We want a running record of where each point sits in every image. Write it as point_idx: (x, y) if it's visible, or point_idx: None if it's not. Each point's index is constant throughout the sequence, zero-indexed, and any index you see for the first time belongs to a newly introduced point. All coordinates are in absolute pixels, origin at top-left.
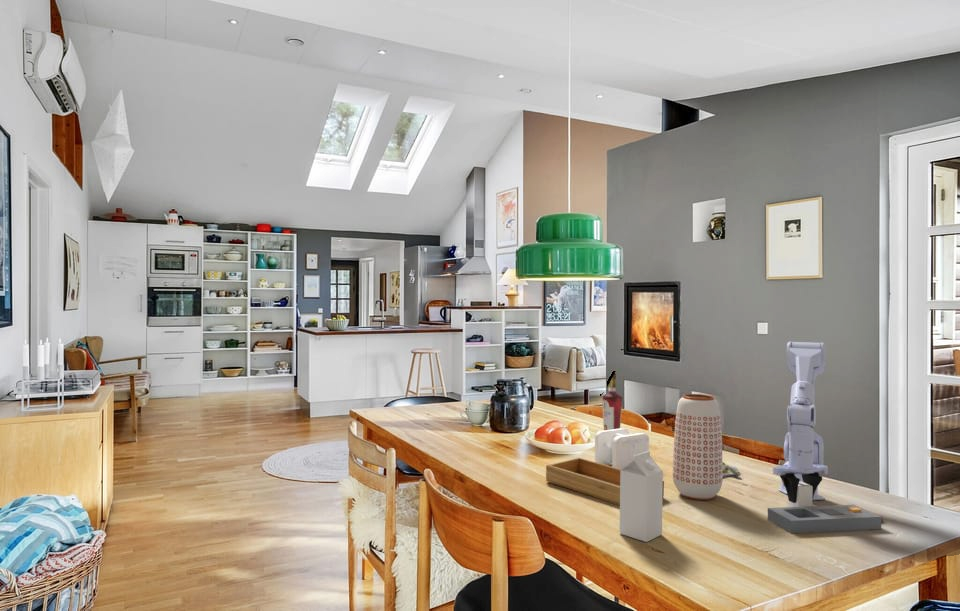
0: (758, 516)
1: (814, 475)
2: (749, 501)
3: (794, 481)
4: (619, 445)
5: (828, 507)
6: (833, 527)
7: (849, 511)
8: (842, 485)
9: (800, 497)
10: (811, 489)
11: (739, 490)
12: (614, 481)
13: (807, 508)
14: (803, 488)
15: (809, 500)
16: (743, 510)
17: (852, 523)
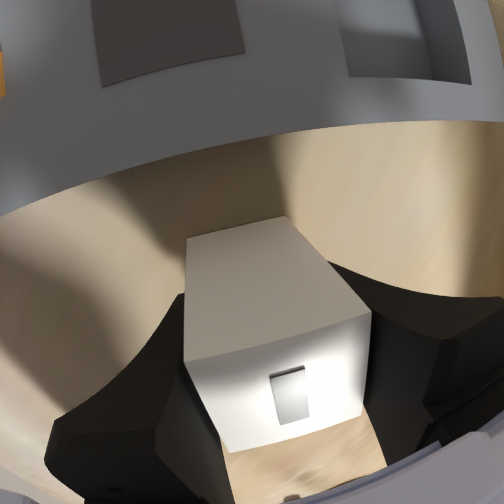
0: (476, 164)
1: (144, 494)
2: None
3: (472, 309)
4: None
5: (116, 123)
6: None
7: (12, 60)
8: (28, 477)
9: (303, 263)
10: (197, 332)
11: (357, 437)
12: None
13: (323, 79)
14: (302, 317)
15: (212, 269)
16: (483, 236)
17: None
